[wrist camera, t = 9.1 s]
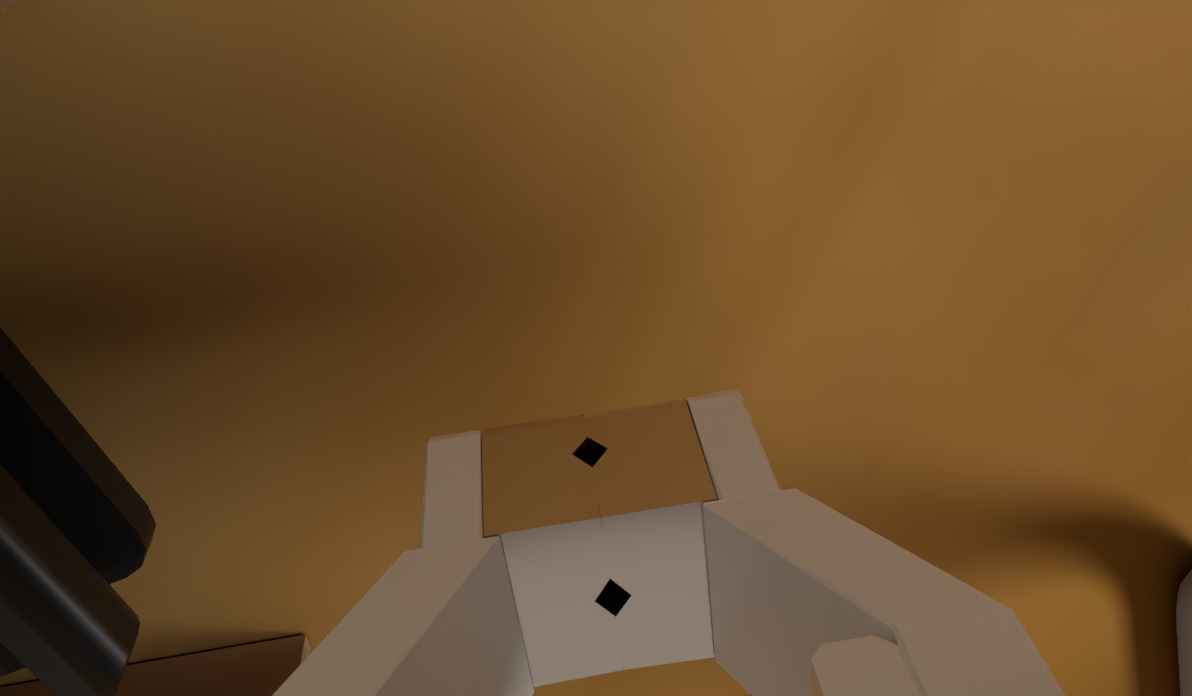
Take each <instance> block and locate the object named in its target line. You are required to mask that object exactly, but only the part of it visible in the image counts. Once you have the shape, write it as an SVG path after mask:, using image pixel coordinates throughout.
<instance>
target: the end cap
mask: <svg viewBox="0 0 1192 696" xmlns="http://www.w3.org/2000/svg"><path fill="white" fill-rule="evenodd" d="M155 526H156V524H155V521H154V519H153V516H152V514H151V512H150V510H149V507H148V505H147V504H146V503H145V501H144V500H143V499H142V498H141V497H140V495H139V494H138V493H137V492H136V491H135V489H134V488H133V487H132V486H131V485H130V483H129V482H128V481H127V480H126V479H125V477H124V476H123V475H122V474H121V472H120V471H119V470H118V469H117V468H116V466H115V465H114V464H113V463H112V462H111V460H110V459H109V458H108V457H107V456H106V454H105V453H104V452H103V451H102V450H101V448H100V447H99V446H98V445H97V443H96V442H95V441H94V440H93V439H92V437H91V436H90V435H89V434H88V433H87V431H86V430H85V429H84V428H83V427H82V425H81V424H80V423H79V422H78V421H77V419H76V418H75V417H74V416H73V414H72V413H71V412H70V411H69V410H68V408H67V407H66V406H65V405H64V404H63V402H62V401H61V400H60V399H59V398H58V396H57V395H56V394H55V393H54V392H53V390H52V389H51V388H50V387H49V385H48V384H47V383H46V382H45V381H44V379H43V378H42V377H41V376H40V375H39V373H38V372H37V371H36V370H35V369H34V367H33V366H32V365H31V364H30V363H29V361H28V360H27V359H26V358H25V356H24V355H23V354H22V353H21V352H20V350H19V349H18V348H17V347H16V346H15V344H14V343H13V342H12V341H11V340H10V338H9V337H8V336H7V335H6V334H5V332H4V331H3V330H2V329H1V327H0V677H1V676H4V675H6V674H9V673H12V672H14V671H17V670H19V669H22V668H25V667H27V668H28V669H29V670H30V671H31V672H32V673H33V674H34V675H35V676H36V677H37V678H38V679H39V680H40V681H41V682H42V683H43V684H44V685H45V686H46V687H48V688H49V689H50V690H51V691H52V692H53V693H54V694H55V695H56V696H115V695H116V693H117V690H118V687H119V684H120V682H121V679H122V676H123V673H124V671H125V668H126V665H127V662H128V660H129V657H130V654H131V651H132V649H133V646H134V643H135V640H136V638H137V635H138V630H139V625H140V622H139V619H138V616H137V615H136V614H135V612H134V611H133V610H132V609H131V608H130V607H129V606H128V605H127V604H126V602H125V601H124V600H123V599H122V598H121V597H120V596H119V595H118V594H117V593H116V591H115V590H114V589H113V588H112V587H111V586H110V585H109V584H111V583H114V582H116V581H119V580H121V579H124V578H126V577H128V576H129V575H131V574H132V573H133V572H135V571H136V570H137V569H139V568H140V567H141V566H142V564H143V562H144V559H145V556H146V554H147V551H148V549H149V546H150V544H151V541H152V537H153V533H154V530H155Z"/></svg>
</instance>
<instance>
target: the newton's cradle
mask: <svg viewBox="0 0 1192 696" xmlns="http://www.w3.org/2000/svg"><path fill="white" fill-rule="evenodd" d="M1176 627H1177V644H1178V661H1179V679H1180V696H1192V569H1191V571H1190V572H1189V573H1188V574H1187V576H1186V577H1185V578H1184V579H1183V581H1182V582H1181V584H1180V586H1179V590H1178V597H1177V607H1176Z"/></svg>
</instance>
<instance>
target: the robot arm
mask: <svg viewBox="0 0 1192 696" xmlns="http://www.w3.org/2000/svg"><path fill="white" fill-rule="evenodd" d="M713 657H715V661H716V662H717V663H718V664H719V665H720V666H721V667H722V668H723V669H724V670H725V671H726V672H727V673H728V674H729V675H730V676H731V677H732V678H734V679H735V680H736V681H737V682H738V683H739V684H740V685H741V686H742V687H743V688H744V689H745V690H746V691H747V692H748V693H749V694H750V695H751V696H1065V694H1064V693H1063V691H1062V689H1061V688H1060V686H1059V684H1058V683H1057V681H1056V680H1055V678H1054V676H1053V675H1052V673H1051V671H1050V670H1049V668H1048V667H1047V665H1046V663H1045V662H1044V660H1043V658H1042V657H1041V655H1040V654H1039V652H1038V650H1037V649H1036V647H1035V645H1034V644H1033V642H1032V641H1031V639H1030V637H1029V636H1028V634H1027V632H1026V631H1025V629H1024V628H1023V626H1022V624H1021V623H1020V621H1019V619H1018V618H1017V616H1016V615H1015V613H1014V611H1013V610H1012V609H1011V608H1009V607H1007V606H1005V605H1004V604H1002V603H1000V602H998V601H996V600H995V599H993V598H991V597H989V596H988V595H986V594H984V593H982V592H980V591H979V590H977V589H975V588H973V587H972V586H970V585H968V584H966V583H964V582H963V581H961V580H959V579H957V578H955V577H954V576H952V575H950V574H948V573H947V572H945V571H943V570H941V569H939V568H938V567H936V566H934V565H932V564H930V563H929V562H927V561H925V560H923V559H922V558H920V557H918V556H916V555H914V554H913V553H911V552H909V551H907V550H905V549H904V548H902V547H900V546H898V545H897V544H895V543H893V542H891V541H889V540H888V539H886V538H884V537H882V536H880V535H879V534H877V533H875V532H873V531H872V530H870V529H868V528H866V527H864V526H863V525H861V524H859V523H857V522H855V521H854V520H852V519H850V518H848V517H847V516H845V515H843V514H841V513H839V512H838V511H836V510H834V509H832V508H830V507H829V506H827V505H825V504H823V503H822V502H820V501H818V500H816V499H814V498H813V497H811V496H809V495H807V494H805V493H804V492H802V491H800V490H798V489H796V488H794V489H787V490H780V487H779V485H778V482H777V480H776V478H775V475H774V473H773V470H772V468H771V465H770V463H769V461H768V458H767V456H766V453H765V451H764V449H763V446H762V444H761V441H760V439H759V437H758V434H757V432H756V429H755V427H754V425H753V422H752V420H751V417H750V415H749V412H748V410H747V408H746V405H745V403H744V400H743V398H742V396H741V393H740V392H738V391H737V390H736V389H729V390H724V391H719V392H714V393H708V394H703V395H698V396H693V397H687V398H685V399H682V400H677V401H671V402H665V403H659V404H654V405H648V406H642V407H636V408H631V409H625V410H619V411H613V412H608V413H602V414H596V415H590V416H584V415H582V416H575V417H568V418H560V419H553V420H546V421H538V422H531V423H524V424H517V425H509V426H502V427H495V428H487V429H483V431H480V430H473V431H467V432H460V433H454V434H448V435H442V436H435V437H431V438H430V440H429V441H428V443H427V445H426V455H425V472H424V488H423V504H422V520H421V537H420V549H414V550H408V551H405V552H403V553H402V554H401V556H400V557H399V558H398V559H397V560H396V561H395V562H394V563H393V564H392V565H391V566H390V568H389V569H388V570H387V571H386V572H385V573H384V574H383V575H382V576H381V577H380V578H379V580H378V581H377V582H376V583H375V584H374V585H373V586H372V587H371V588H370V589H369V590H368V592H367V593H366V594H365V595H364V596H363V597H362V598H361V599H360V600H359V601H358V602H357V604H356V605H355V606H354V607H353V608H352V609H351V610H350V611H349V612H348V613H347V614H346V615H345V617H344V618H343V619H342V620H341V621H340V622H339V623H338V624H337V625H336V626H335V627H334V629H333V630H332V631H331V632H330V633H329V634H328V635H327V636H326V637H325V638H324V639H323V641H322V642H321V643H320V644H319V645H318V646H317V647H316V648H315V649H314V650H313V651H312V653H311V654H310V655H309V656H308V657H307V658H306V659H305V660H304V661H303V662H302V663H301V665H300V666H299V667H298V668H297V669H296V670H295V671H294V672H293V673H292V674H291V675H290V677H289V678H288V679H287V680H286V681H285V682H284V683H283V684H282V685H281V686H280V687H279V689H278V690H277V691H276V692H275V693H274V694H273V695H272V696H532V695H533V694H534V690H533V687H537V686H542V685H548V684H553V683H558V682H563V681H568V680H573V679H579V678H584V677H589V676H594V675H599V674H604V673H610V672H615V671H620V670H626V669H633V668H641V667H648V666H655V665H662V664H670V663H677V662H684V661H691V660H699V659H706V658H713ZM623 666H624V669H623Z"/></svg>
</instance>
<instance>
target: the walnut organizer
mask: <svg viewBox="0 0 1192 696" xmlns="http://www.w3.org/2000/svg"><path fill="white" fill-rule="evenodd" d="M20 1H22V0H0V13H2V12H3V11H5V10H7V9H8V8H10V7H12V6H13V5H15V4H17V3H18V2H20ZM311 653H312V650H311V647H310V645H309V642H308V640H307V637H306V635H300V636H294V637H288V638H283V639H277V640H271V641H265V642H260V643H254V644H248V645H242V646H236V647H231V648H225V649H219V650H213V651H208V652H202V653H196V654H190V655H184V656H179V657H173V658H167V659H161V660H155V661H150V662H144V663H138V664H132V665H127V666H126V668H125V671H124V673H123V676H122V679H121V682H120V684H119V687H118V690H117V693H116V695H115V696H272V695H273V694H274V693H275V692H276V691H277V690H278V689H279V687H280V686H281V685H282V684H283V683H284V682H285V681H286V680H287V679H288V678H289V677H290V675H291V674H292V673H293V672H294V671H295V670H296V669H297V668H298V667H299V666H300V665H301V663H302V662H303V661H304V660H305V659H306V658H307V657H308V656H309V655H310V654H311ZM0 696H56V695H55V694H54V693H53V692H52V691H51V690H50V689H49V688H48V687H46V686H45V685H44V684H43V683H42V682H41V681H34V682H28V683H23V684H17V685H11V686H5V687H0Z"/></svg>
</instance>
